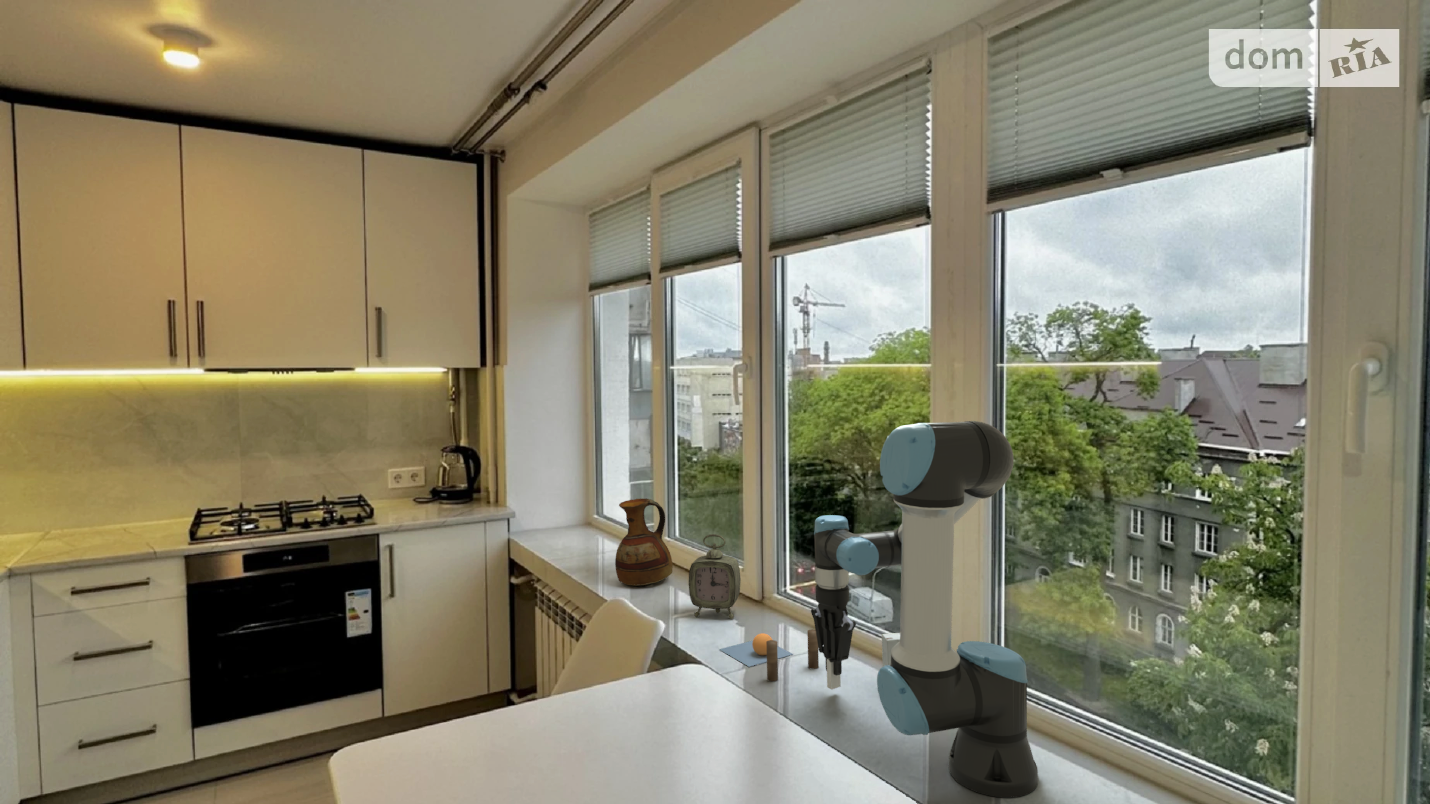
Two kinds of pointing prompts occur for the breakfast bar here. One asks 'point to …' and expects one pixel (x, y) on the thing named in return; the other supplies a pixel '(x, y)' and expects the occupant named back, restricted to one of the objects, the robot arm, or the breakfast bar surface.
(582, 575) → the breakfast bar surface
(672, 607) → the breakfast bar surface
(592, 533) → the breakfast bar surface
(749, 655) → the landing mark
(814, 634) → the right post
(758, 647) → the ball
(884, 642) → the skincare box
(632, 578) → the ceramic pitcher
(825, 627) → the robot arm
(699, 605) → the tabletop clock
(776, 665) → the left post
